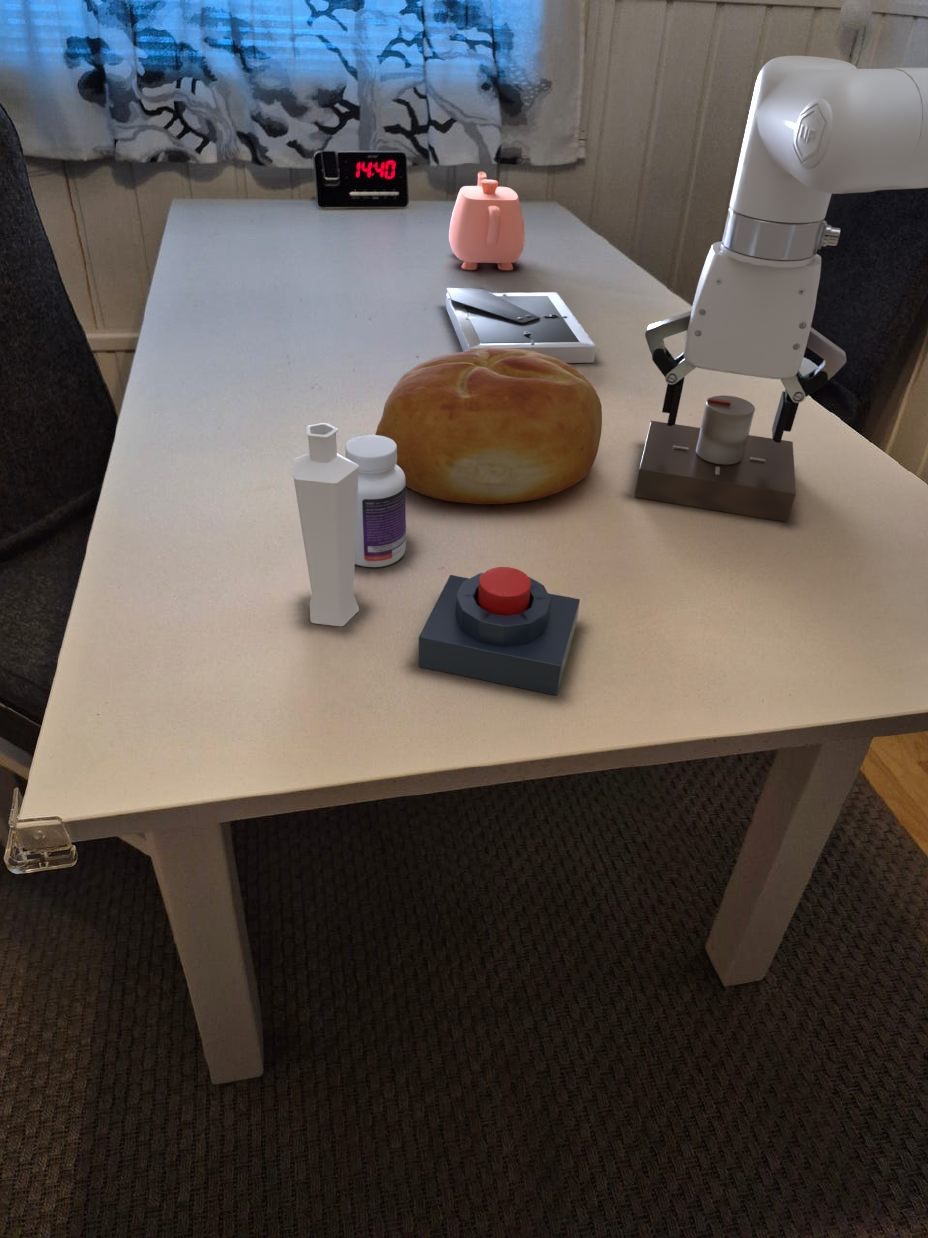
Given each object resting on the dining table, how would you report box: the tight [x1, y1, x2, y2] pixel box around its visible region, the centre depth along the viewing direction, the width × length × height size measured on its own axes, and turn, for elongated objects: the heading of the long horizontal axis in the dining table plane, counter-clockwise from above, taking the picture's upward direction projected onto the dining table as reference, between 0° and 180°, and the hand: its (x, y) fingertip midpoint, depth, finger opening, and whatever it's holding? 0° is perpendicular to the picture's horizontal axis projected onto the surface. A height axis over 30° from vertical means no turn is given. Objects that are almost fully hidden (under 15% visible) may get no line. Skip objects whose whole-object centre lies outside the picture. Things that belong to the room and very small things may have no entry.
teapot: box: [448, 170, 526, 271], centre depth 139 cm, size 20×12×12 cm, turn 6°
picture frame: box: [445, 287, 597, 364], centre depth 115 cm, size 16×3×21 cm
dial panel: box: [633, 420, 797, 523], centre depth 85 cm, size 14×11×3 cm
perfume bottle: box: [292, 422, 360, 627], centre depth 62 cm, size 5×4×15 cm
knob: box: [696, 395, 756, 465], centre depth 82 cm, size 4×4×5 cm
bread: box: [374, 347, 603, 505], centre depth 84 cm, size 23×23×10 cm
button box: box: [418, 572, 581, 696], centre depth 63 cm, size 10×8×4 cm
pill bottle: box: [344, 434, 407, 568], centre depth 71 cm, size 5×5×10 cm
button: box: [478, 566, 531, 616], centre depth 61 cm, size 4×4×2 cm
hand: (723, 428), depth 83 cm, fingers open, 9 cm apart
